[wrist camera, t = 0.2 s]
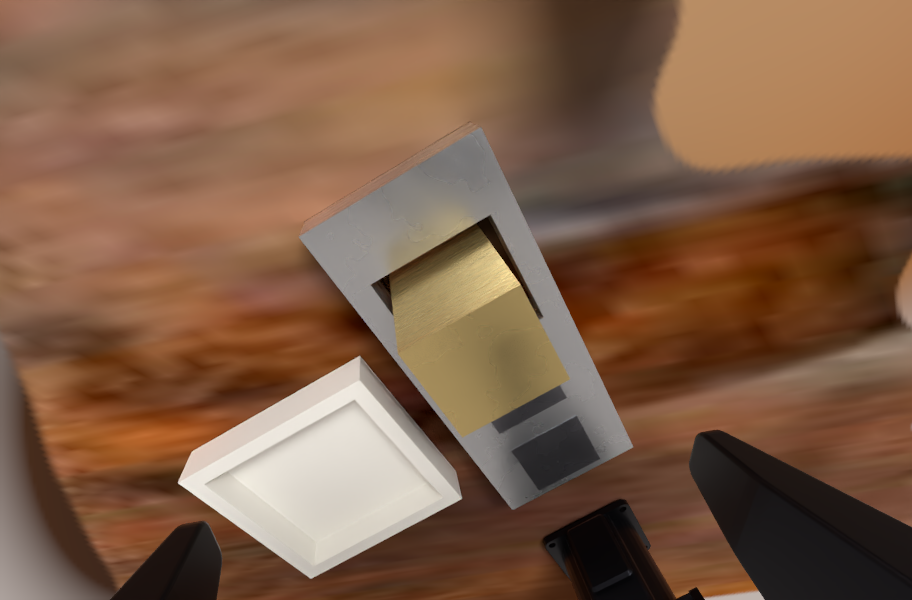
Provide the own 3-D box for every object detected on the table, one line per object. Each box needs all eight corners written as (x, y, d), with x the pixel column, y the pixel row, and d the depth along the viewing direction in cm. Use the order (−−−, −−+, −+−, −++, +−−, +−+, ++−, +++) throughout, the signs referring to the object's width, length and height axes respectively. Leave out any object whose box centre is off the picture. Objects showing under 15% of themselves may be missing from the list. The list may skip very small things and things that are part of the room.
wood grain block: (514, 294, 22) (570, 379, 16) (436, 338, 23) (462, 437, 17) (473, 219, 20) (520, 284, 14) (388, 269, 21) (397, 354, 14)
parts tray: (456, 471, 27) (462, 498, 25) (314, 546, 28) (310, 578, 26) (359, 355, 22) (359, 380, 21) (191, 451, 23) (177, 482, 21)
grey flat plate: (616, 423, 28) (633, 447, 26) (503, 482, 28) (512, 511, 27) (470, 121, 18) (481, 126, 16) (304, 221, 19) (298, 237, 17)
